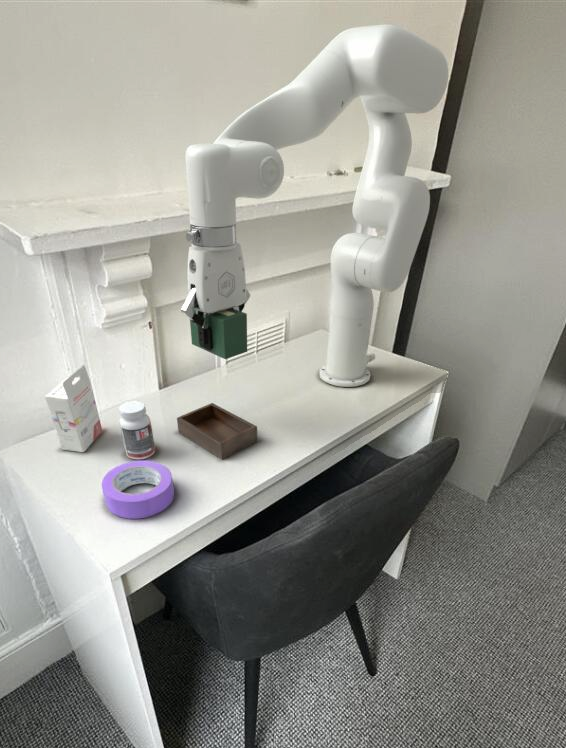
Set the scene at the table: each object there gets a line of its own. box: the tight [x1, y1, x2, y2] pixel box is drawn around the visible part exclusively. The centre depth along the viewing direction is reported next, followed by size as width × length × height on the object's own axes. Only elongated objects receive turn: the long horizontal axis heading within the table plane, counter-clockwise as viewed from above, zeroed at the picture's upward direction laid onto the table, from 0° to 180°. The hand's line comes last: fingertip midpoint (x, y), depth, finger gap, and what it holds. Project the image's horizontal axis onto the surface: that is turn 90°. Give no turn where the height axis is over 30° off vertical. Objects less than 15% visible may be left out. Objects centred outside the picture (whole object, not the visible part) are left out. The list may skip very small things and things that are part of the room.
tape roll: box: [101, 460, 175, 520], centre depth 85 cm, size 12×12×4 cm
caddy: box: [176, 402, 258, 460], centre depth 100 cm, size 9×14×4 cm
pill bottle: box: [118, 400, 156, 461], centre depth 94 cm, size 6×6×10 cm
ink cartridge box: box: [44, 364, 103, 453], centre depth 95 cm, size 9×5×15 cm, turn 168°
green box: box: [189, 308, 248, 360], centre depth 92 cm, size 10×6×7 cm, turn 44°
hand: (219, 342), depth 94 cm, fingers closed on green box, 5 cm apart
